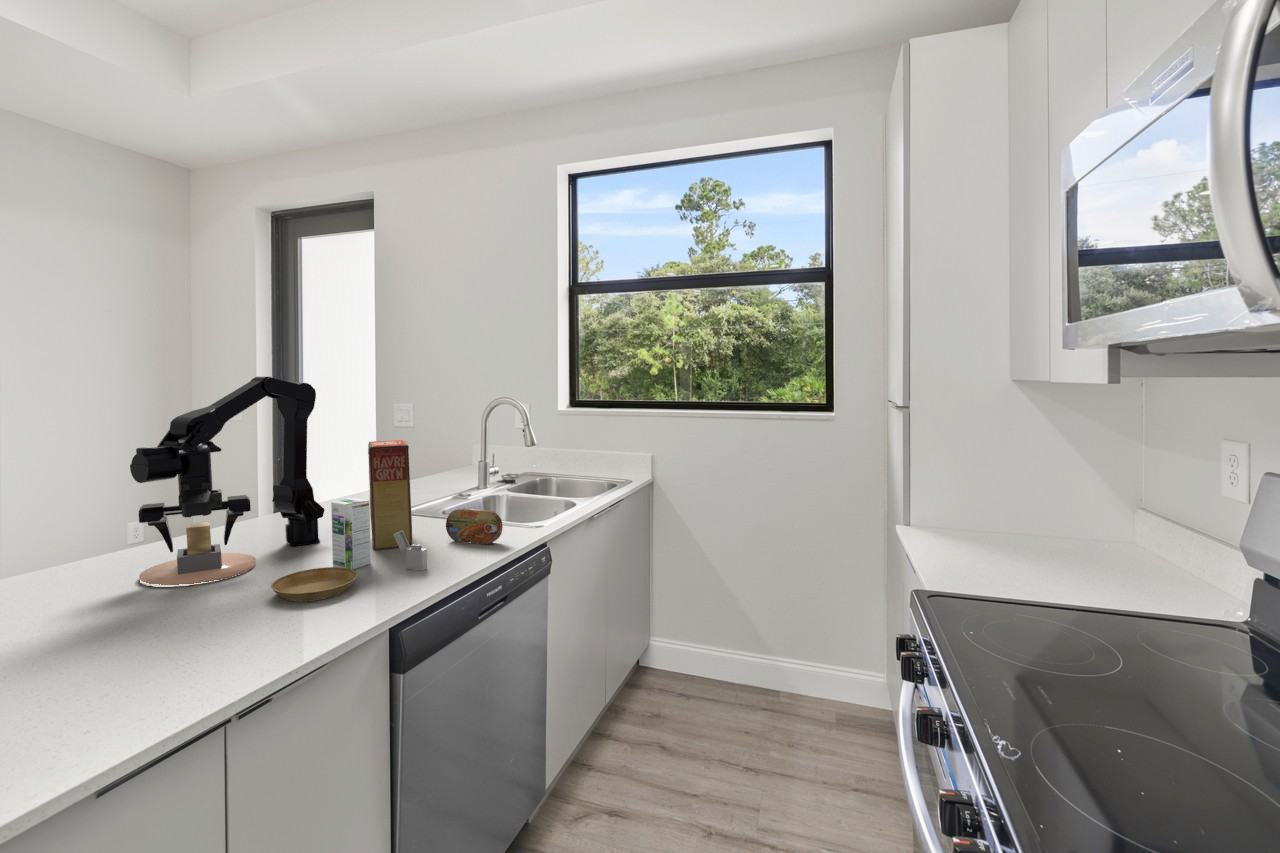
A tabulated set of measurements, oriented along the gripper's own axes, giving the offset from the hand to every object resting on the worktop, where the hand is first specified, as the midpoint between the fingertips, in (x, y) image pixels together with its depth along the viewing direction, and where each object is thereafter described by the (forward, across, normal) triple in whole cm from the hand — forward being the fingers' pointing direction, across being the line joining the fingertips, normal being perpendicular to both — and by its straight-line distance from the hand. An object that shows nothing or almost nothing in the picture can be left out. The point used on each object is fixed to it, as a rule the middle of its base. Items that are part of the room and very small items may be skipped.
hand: (199, 548), depth 129 cm
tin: (+5, +56, -11) cm, 57 cm away
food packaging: (+5, +39, +1) cm, 39 cm away
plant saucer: (+6, +18, -27) cm, 33 cm away
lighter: (+5, +37, -23) cm, 44 cm away
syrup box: (+5, +27, -14) cm, 31 cm away
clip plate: (+5, 0, 0) cm, 5 cm away
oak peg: (+4, 0, 0) cm, 4 cm away
